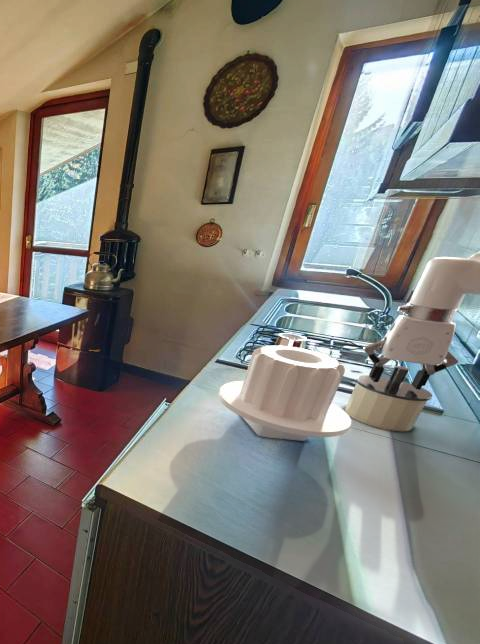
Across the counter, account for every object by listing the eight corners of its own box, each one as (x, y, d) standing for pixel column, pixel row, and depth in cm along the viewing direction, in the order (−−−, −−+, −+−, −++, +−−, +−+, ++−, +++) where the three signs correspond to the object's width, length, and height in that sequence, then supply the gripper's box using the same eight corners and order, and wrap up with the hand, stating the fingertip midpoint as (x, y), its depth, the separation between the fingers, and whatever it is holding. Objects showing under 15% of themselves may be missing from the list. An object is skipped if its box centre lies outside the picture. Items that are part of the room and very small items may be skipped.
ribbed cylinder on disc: (368, 465, 82) (409, 384, 74) (236, 450, 86) (263, 373, 79) (300, 408, 104) (326, 342, 96) (199, 399, 109) (216, 334, 101)
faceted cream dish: (401, 414, 102) (416, 384, 98) (421, 436, 92) (438, 405, 88) (339, 402, 107) (352, 374, 104) (352, 422, 98) (366, 392, 94)
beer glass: (289, 390, 114) (307, 342, 108) (260, 383, 118) (276, 336, 112) (291, 383, 119) (309, 336, 113) (264, 376, 123) (279, 331, 117)
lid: (417, 386, 99) (428, 364, 96) (440, 408, 88) (454, 384, 86) (348, 375, 105) (358, 354, 102) (363, 394, 94) (374, 371, 92)
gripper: (382, 311, 90) (351, 381, 97) (494, 323, 82) (452, 398, 89) (372, 305, 96) (344, 371, 103) (475, 315, 88) (437, 386, 95)
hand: (394, 383), depth 96 cm, fingers open, 6 cm apart
